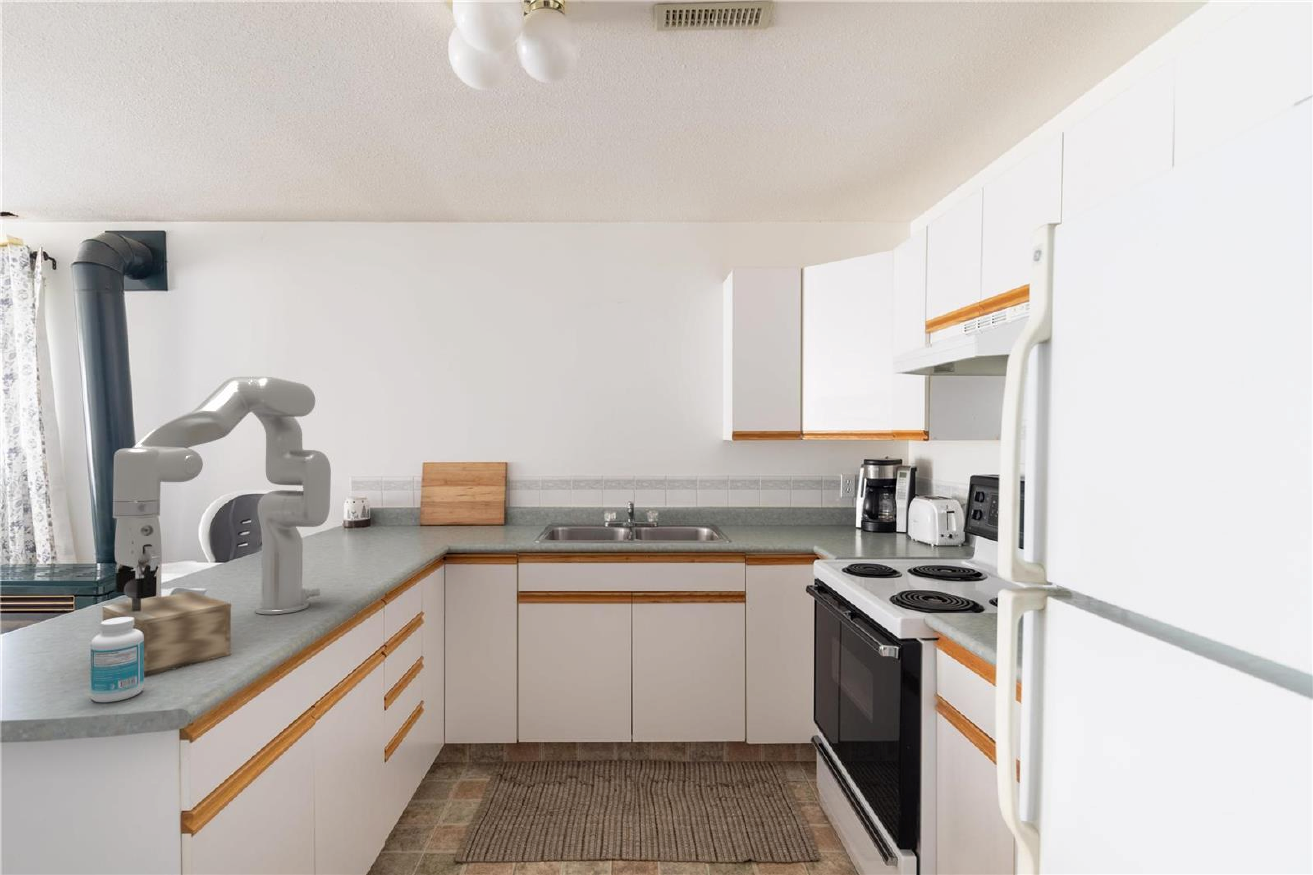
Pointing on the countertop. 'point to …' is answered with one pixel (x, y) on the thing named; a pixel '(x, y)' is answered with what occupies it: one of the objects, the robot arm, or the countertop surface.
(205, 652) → the wooden box
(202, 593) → the spoon rest
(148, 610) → the flap
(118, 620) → the pill bottle
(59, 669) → the countertop surface
